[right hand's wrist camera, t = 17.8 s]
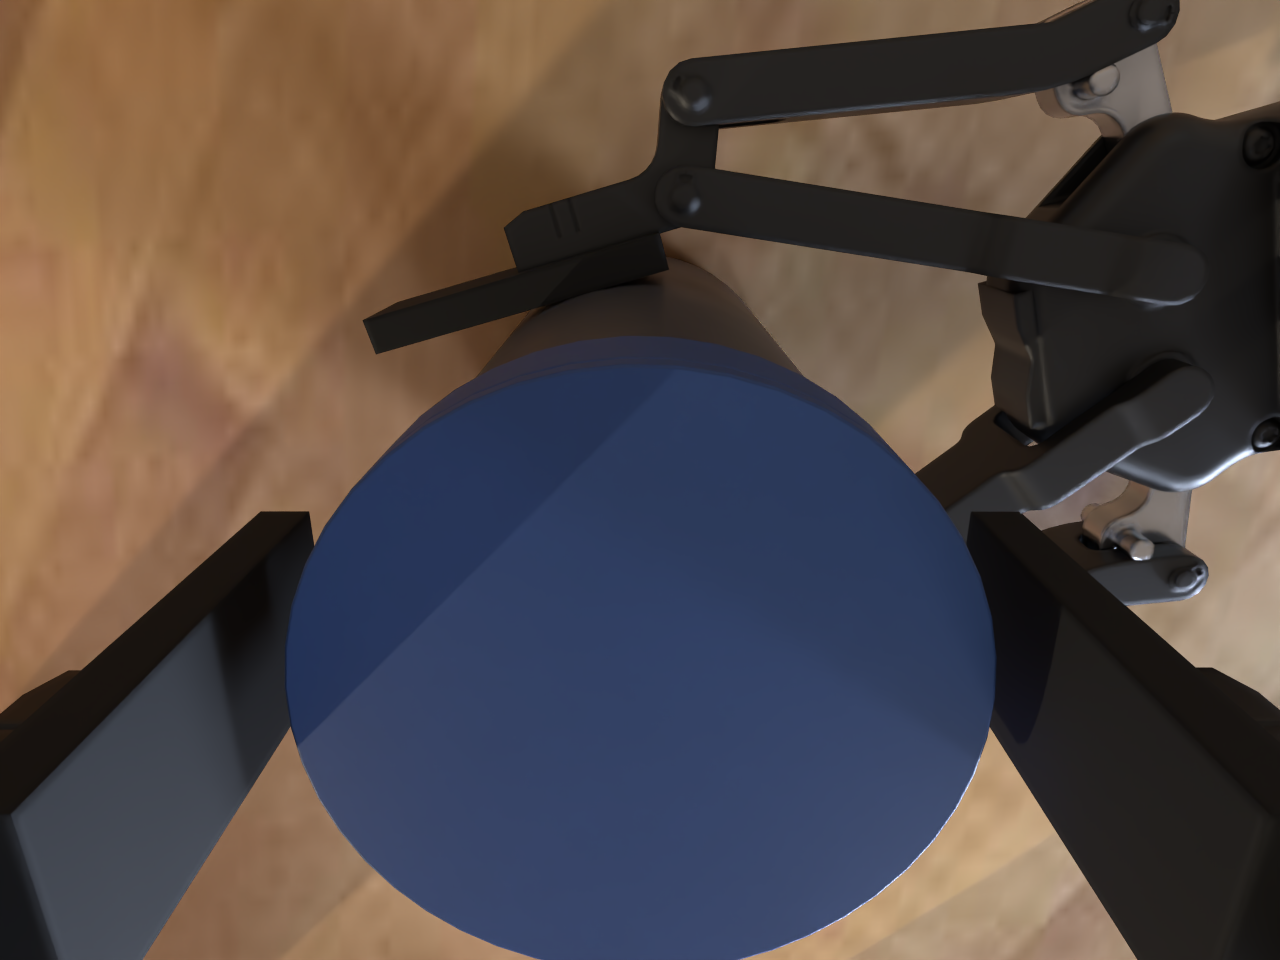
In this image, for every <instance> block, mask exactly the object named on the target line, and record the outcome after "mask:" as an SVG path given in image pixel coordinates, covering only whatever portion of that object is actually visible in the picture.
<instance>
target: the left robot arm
mask: <svg viewBox="0 0 1280 960" xmlns="http://www.w3.org/2000/svg"><path fill="white" fill-rule="evenodd" d="M1179 11H1180V3H1179V0H1085V1H1083V2H1080V3H1077V4H1075V5H1073V6H1071V7H1069V8H1067V9H1065V10H1063V11H1061V12H1059V13H1057V14H1055V15H1053V16H1051V17H1049V18H1047V19H1045V20H1043V21H1041V22H1039V23H1037V24H1027V25H1017V26H1007V27H997V28H988V29H978V30H968V31H958V32H948V33H938V34H928V35H918V36H909V37H899V38H889V39H879V40H869V41H859V42H849V43H839V44H830V45H820V46H810V47H800V48H790V49H780V50H770V51H760V52H751V53H741V54H731V55H721V56H711V57H701V58H691V59H688V60H685V61H682V62H679V63H678V64H677V65H676V66H675V67H674V68H673V69H671V70H670V72H669V74H668V76H667V78H666V80H665V82H664V85H663V89H662V92H661V98H660V111H659V124H658V137H657V147H656V152H655V156H654V158H653V160H652V162H651V164H650V165H649V166H648V168H647V169H646V170H645V171H644V172H643V173H641V174H640V175H639V176H637V177H634V178H632V179H630V180H626V181H623V182H620V183H616V184H613V185H610V186H606V187H603V188H600V189H596V190H593V191H590V192H586V193H583V194H580V195H577V196H573V197H570V198H567V199H563V200H560V201H557V202H553V203H550V204H547V205H543V206H540V207H537V208H533V209H530V210H527V211H523V212H522V213H521V214H520V215H519V216H517V217H516V218H515V219H514V220H513V221H511V222H510V223H509V224H508V225H507V226H506V227H504V230H505V233H506V236H507V239H508V242H509V245H510V248H511V252H512V255H513V258H514V261H515V264H516V268H512V269H509V270H505V271H502V272H499V273H495V274H492V275H488V276H485V277H482V278H478V279H475V280H471V281H468V282H465V283H461V284H458V285H454V286H451V287H448V288H444V289H441V290H437V291H434V292H431V293H427V294H424V295H420V296H417V297H414V298H410V299H407V300H403V301H400V302H397V303H395V304H393V305H391V306H389V307H388V308H386V309H384V310H382V311H380V312H378V313H376V314H374V315H372V316H370V317H368V318H366V319H365V320H363V323H364V325H365V328H366V330H367V333H368V335H369V338H370V340H371V343H372V345H373V348H374V350H375V353H376V354H379V353H382V352H386V351H389V350H393V349H396V348H400V347H403V346H407V345H410V344H414V343H417V342H421V341H424V340H428V339H431V338H434V337H438V336H441V335H445V334H448V333H452V332H455V331H459V330H462V329H466V328H469V327H473V326H476V325H480V324H483V323H486V322H490V321H493V320H497V319H500V318H504V317H507V316H511V315H514V314H518V313H521V312H525V311H528V310H531V309H535V308H538V307H542V306H545V305H549V304H552V303H556V302H559V301H563V300H566V299H570V298H573V297H577V296H580V295H583V294H587V293H590V292H593V291H597V290H601V289H604V288H608V287H611V286H615V285H618V284H622V283H625V282H628V281H632V280H635V279H639V278H642V277H646V276H649V275H653V274H656V273H660V272H663V271H667V270H669V267H668V263H667V259H666V256H665V252H664V248H663V244H662V241H661V237H660V233H663V232H666V231H670V230H673V229H677V228H680V227H684V228H690V229H697V230H703V231H709V232H716V233H722V234H729V235H735V236H741V237H748V238H754V239H760V240H767V241H773V242H780V243H786V244H792V245H799V246H805V247H812V248H818V249H824V250H831V251H837V252H843V253H850V254H856V255H863V256H869V257H875V258H882V259H888V260H894V261H901V262H907V263H914V264H920V265H926V266H933V267H939V268H946V269H952V270H958V271H965V272H970V273H976V274H980V275H985V276H987V281H985V282H981V283H978V288H979V295H980V302H981V309H982V315H983V317H984V320H985V322H986V324H987V326H988V328H989V331H990V333H991V335H992V337H993V339H994V342H995V351H994V358H993V366H992V373H991V380H992V388H993V395H994V402H995V405H994V406H993V407H992V408H990V409H989V410H987V411H986V412H985V413H983V414H982V415H981V416H979V417H978V418H976V419H975V420H974V421H972V422H971V423H970V424H969V425H968V426H967V427H966V428H965V429H964V431H963V433H962V437H961V439H960V440H959V442H958V443H957V444H955V445H954V446H953V447H951V448H950V449H949V450H947V451H946V452H945V453H943V454H942V455H940V456H939V457H938V458H936V459H935V460H933V461H932V462H931V463H929V464H928V465H927V466H925V467H924V468H922V469H921V470H920V471H918V472H917V473H916V474H915V475H916V476H917V477H918V478H919V479H920V480H921V482H922V483H923V484H924V485H925V486H926V487H927V488H928V489H929V490H930V492H931V493H932V494H933V495H934V496H935V497H936V498H937V499H938V501H939V502H940V504H941V505H942V507H943V508H944V510H945V511H946V513H947V514H948V516H949V517H950V519H951V520H952V522H953V523H954V525H955V526H956V528H957V530H958V531H959V533H960V534H961V536H962V537H963V539H964V541H965V544H966V541H967V535H968V528H969V521H970V514H971V512H1020V513H1024V512H1026V511H1029V510H1043V509H1047V508H1050V507H1052V506H1054V505H1056V504H1058V503H1059V502H1061V501H1062V500H1064V499H1065V498H1067V497H1068V496H1070V495H1071V494H1073V493H1074V492H1075V491H1077V490H1078V489H1080V488H1081V487H1083V486H1084V485H1086V484H1087V483H1089V482H1090V481H1092V480H1093V479H1094V478H1096V477H1097V476H1099V475H1100V474H1102V473H1103V472H1105V471H1106V472H1109V473H1112V474H1114V475H1117V476H1120V477H1122V478H1125V479H1128V480H1129V483H1128V486H1127V487H1126V489H1125V491H1124V492H1123V493H1122V494H1121V495H1120V496H1119V497H1118V498H1116V499H1115V500H1113V501H1110V502H1108V503H1105V504H1102V505H1099V504H1090V505H1088V506H1086V507H1085V508H1084V509H1083V510H1082V513H1081V519H1082V521H1081V522H1074V523H1068V524H1063V525H1059V526H1055V527H1052V528H1048V529H1045V530H1042V532H1043V533H1044V534H1045V535H1046V536H1047V537H1049V538H1050V539H1051V540H1052V541H1053V542H1054V543H1055V544H1057V545H1058V546H1059V547H1060V548H1061V549H1062V550H1063V551H1064V552H1066V553H1067V554H1068V555H1069V556H1070V557H1071V558H1072V559H1073V560H1075V561H1076V562H1077V563H1078V564H1079V565H1080V566H1081V567H1082V568H1084V569H1085V570H1086V571H1087V572H1088V573H1089V574H1090V575H1092V576H1093V577H1094V578H1095V579H1096V580H1097V581H1098V582H1099V583H1101V584H1102V585H1103V586H1104V587H1105V588H1106V589H1107V590H1108V591H1110V592H1111V593H1112V594H1113V595H1114V596H1115V597H1116V598H1117V599H1119V600H1120V601H1121V602H1122V603H1123V604H1124V605H1125V606H1129V605H1139V604H1149V603H1160V602H1170V601H1180V600H1184V599H1188V598H1191V597H1192V596H1194V595H1195V594H1197V593H1199V592H1200V590H1201V589H1202V588H1203V587H1204V586H1205V584H1206V581H1207V579H1208V567H1207V565H1206V564H1205V563H1204V561H1203V560H1202V559H1200V558H1199V557H1197V556H1196V555H1194V554H1193V553H1191V552H1190V551H1189V550H1187V549H1186V548H1185V541H1186V533H1187V525H1188V517H1189V509H1190V501H1191V493H1192V489H1195V488H1198V487H1200V486H1202V485H1205V484H1206V483H1208V482H1210V481H1211V480H1212V479H1214V478H1215V477H1216V476H1218V475H1219V474H1220V473H1221V472H1223V471H1224V470H1225V469H1227V468H1228V467H1230V466H1231V465H1233V464H1235V463H1236V462H1238V461H1240V460H1242V459H1244V458H1246V457H1248V456H1251V455H1254V454H1257V453H1262V452H1268V451H1276V450H1280V101H1279V102H1276V103H1273V104H1269V105H1266V106H1262V107H1259V108H1255V109H1252V110H1248V111H1245V112H1241V113H1238V114H1234V115H1231V116H1227V117H1224V118H1221V119H1217V120H1209V119H1203V118H1200V117H1196V116H1193V115H1190V114H1185V113H1172V109H1171V104H1170V100H1169V96H1168V91H1167V87H1166V82H1165V78H1164V74H1163V69H1162V65H1161V61H1160V56H1159V52H1158V48H1157V42H1159V41H1160V40H1161V39H1163V38H1164V37H1166V36H1167V34H1168V33H1169V32H1170V30H1171V29H1172V28H1173V26H1174V25H1175V23H1176V20H1177V17H1178V14H1179ZM1034 92H1035V94H1036V98H1037V101H1038V104H1039V106H1040V108H1041V109H1042V110H1043V111H1044V112H1045V113H1046V114H1047V115H1049V116H1051V117H1053V118H1068V117H1075V116H1084V117H1087V118H1089V119H1091V120H1093V121H1094V122H1095V123H1096V124H1097V125H1098V127H1099V129H1100V131H1101V134H1102V135H1101V136H1100V137H1099V138H1098V139H1097V140H1096V141H1095V142H1094V143H1093V144H1092V146H1091V147H1090V148H1089V149H1088V150H1087V151H1086V152H1085V153H1084V154H1083V155H1082V157H1081V158H1080V159H1079V160H1078V161H1077V162H1076V163H1075V164H1074V165H1073V167H1072V168H1071V169H1070V170H1069V171H1068V172H1067V173H1066V174H1065V175H1064V176H1063V178H1062V179H1061V180H1060V181H1059V182H1058V183H1057V184H1056V185H1055V186H1054V188H1053V189H1052V190H1051V191H1050V192H1049V193H1048V194H1047V195H1046V196H1045V197H1044V199H1043V200H1042V201H1041V202H1040V203H1039V204H1038V205H1037V206H1036V207H1035V209H1034V210H1033V211H1032V212H1031V213H1030V214H1029V215H1028V216H1027V217H1026V218H1020V217H1014V216H1007V215H1000V214H993V213H986V212H980V211H973V210H967V209H961V208H955V207H948V206H942V205H936V204H930V203H924V202H917V201H911V200H905V199H899V198H892V197H886V196H880V195H874V194H868V193H861V192H855V191H849V190H843V189H836V188H830V187H824V186H818V185H811V184H805V183H799V182H793V181H787V180H780V179H774V178H768V177H762V176H755V175H749V174H743V173H737V172H731V171H724V170H718V169H715V161H716V151H717V140H718V130H719V129H725V128H735V127H746V126H756V125H766V124H776V123H786V122H796V121H806V120H817V119H827V118H837V117H847V116H857V115H867V114H878V113H888V112H898V111H908V110H918V109H928V108H938V107H949V106H959V105H969V104H978V103H984V102H990V101H996V100H1001V99H1006V98H1010V97H1015V96H1020V95H1025V94H1029V93H1034ZM1033 441H1035V442H1036V443H1038V444H1037V445H1034V446H1027V445H1029V444H1030V443H1031V442H1033Z"/></svg>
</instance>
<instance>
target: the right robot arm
mask: <svg viewBox="0 0 1280 960" xmlns="http://www.w3.org/2000/svg"><path fill="white" fill-rule="evenodd" d="M966 546H967V548H968V550H969V552H970V555H971V557H972V559H973V561H974V563H975V565H976V568H977V570H978V572H979V574H980V576H981V580H982V583H983V587H984V591H985V594H986V598H987V601H988V605H989V609H990V612H991V616H992V623H993V631H994V640H995V649H996V657H997V659H996V683H995V701H994V706H993V711H992V716H991V721H990V728H991V729H992V731H993V733H994V734H995V736H996V737H997V739H998V741H999V742H1000V744H1001V745H1002V747H1003V748H1004V750H1005V752H1006V753H1007V755H1008V756H1009V758H1010V759H1011V761H1012V763H1013V764H1014V766H1015V767H1016V769H1017V770H1018V772H1019V774H1020V775H1021V777H1022V778H1023V780H1024V781H1025V783H1026V785H1027V786H1028V788H1029V789H1030V791H1031V793H1032V794H1033V796H1034V797H1035V799H1036V800H1037V802H1038V804H1039V805H1040V807H1041V808H1042V810H1043V811H1044V813H1045V815H1046V816H1047V818H1048V819H1049V821H1050V822H1051V824H1052V826H1053V827H1054V829H1055V830H1056V832H1057V833H1058V835H1059V837H1060V838H1061V840H1062V841H1063V843H1064V845H1065V846H1066V848H1067V849H1068V851H1069V852H1070V854H1071V856H1072V857H1073V859H1074V860H1075V862H1076V863H1077V865H1078V867H1079V868H1080V870H1081V871H1082V873H1083V874H1084V876H1085V878H1086V879H1087V881H1088V882H1089V884H1090V886H1091V887H1092V889H1093V890H1094V892H1095V893H1096V895H1097V897H1098V898H1099V900H1100V901H1101V903H1102V904H1103V906H1104V908H1105V909H1106V911H1107V912H1108V914H1109V915H1110V917H1111V919H1112V920H1113V922H1114V923H1115V925H1116V926H1117V928H1118V930H1119V931H1120V933H1121V934H1122V936H1123V938H1124V939H1125V941H1126V942H1127V944H1128V945H1129V947H1130V949H1131V950H1132V952H1133V953H1134V955H1135V956H1136V958H1137V960H1280V710H1279V709H1278V708H1277V707H1275V706H1274V705H1273V704H1272V703H1271V702H1269V701H1268V700H1267V699H1266V698H1265V697H1264V696H1262V695H1261V694H1260V693H1259V692H1257V691H1255V690H1253V689H1251V688H1250V687H1248V686H1246V685H1244V684H1242V683H1240V682H1238V681H1236V680H1235V679H1233V678H1231V677H1229V676H1227V675H1225V674H1223V673H1221V672H1220V671H1218V670H1216V669H1214V668H1195V667H1194V666H1193V665H1192V664H1191V663H1190V662H1189V661H1187V660H1186V659H1185V658H1184V657H1183V656H1182V655H1181V654H1180V653H1178V652H1177V651H1176V650H1175V649H1174V648H1173V647H1172V646H1171V645H1169V644H1168V643H1167V642H1166V641H1165V640H1164V639H1163V638H1162V637H1160V636H1159V635H1158V634H1157V633H1156V632H1155V631H1154V630H1152V629H1151V628H1150V627H1149V626H1148V625H1147V624H1146V623H1145V622H1143V621H1142V620H1141V619H1140V618H1139V617H1138V616H1137V615H1136V614H1134V613H1133V612H1132V611H1131V610H1130V609H1129V608H1128V607H1127V606H1125V605H1124V604H1123V603H1122V602H1121V601H1120V600H1119V599H1117V598H1116V597H1115V596H1114V595H1113V594H1112V593H1111V592H1110V591H1108V590H1107V589H1106V588H1105V587H1104V586H1103V585H1102V584H1101V583H1099V582H1098V581H1097V580H1096V579H1095V578H1094V577H1093V576H1092V575H1090V574H1089V573H1088V572H1087V571H1086V570H1085V569H1084V568H1082V567H1081V566H1080V565H1079V564H1078V563H1077V562H1076V561H1075V560H1073V559H1072V558H1071V557H1070V556H1069V555H1068V554H1067V553H1066V552H1064V551H1063V550H1062V549H1061V548H1060V547H1059V546H1058V545H1057V544H1055V543H1054V542H1053V541H1052V540H1051V539H1050V538H1049V537H1047V536H1046V535H1045V534H1044V533H1043V532H1042V531H1041V530H1040V529H1038V528H1037V527H1036V526H1035V525H1034V524H1033V523H1032V522H1031V521H1029V520H1028V519H1027V518H1026V517H1025V516H1024V515H1023V514H1022V513H1020V512H971V514H970V521H969V528H968V535H967V541H966ZM313 548H314V541H313V535H312V528H311V521H310V514H309V512H260V513H258V514H257V515H256V516H255V517H254V518H253V519H252V520H251V521H249V522H248V523H247V524H246V525H245V526H244V527H243V528H242V529H240V530H239V531H238V532H237V533H236V534H235V535H234V536H233V537H231V538H230V539H229V540H228V541H227V542H226V543H225V544H223V545H222V546H221V547H220V548H219V549H218V550H217V551H216V552H214V553H213V554H212V555H211V556H210V557H209V558H208V559H207V560H205V561H204V562H203V563H202V564H201V565H200V566H199V567H198V568H196V569H195V570H194V571H193V572H192V573H191V574H190V575H188V576H187V577H186V578H185V579H184V580H183V581H182V582H181V583H179V584H178V585H177V586H176V587H175V588H174V589H173V590H172V591H170V592H169V593H168V594H167V595H166V596H165V597H164V598H163V599H161V600H160V601H159V602H158V603H157V604H156V605H155V606H153V607H152V608H151V609H150V610H149V611H148V612H147V613H146V614H144V615H143V616H142V617H141V618H140V619H139V620H138V621H137V622H135V623H134V624H133V625H132V626H131V627H130V628H129V629H128V630H126V631H125V632H124V633H123V634H122V635H121V636H120V637H118V638H117V639H116V640H115V641H114V642H113V643H112V644H111V645H109V646H108V647H107V648H106V649H105V650H104V651H103V652H102V653H100V654H99V655H98V656H97V657H96V658H95V659H94V660H93V661H91V662H90V663H89V664H88V665H87V666H86V667H85V668H83V669H82V670H69V671H67V672H65V673H63V674H61V675H59V676H57V677H56V678H54V679H52V680H50V681H48V682H46V683H44V684H42V685H41V686H39V687H37V688H35V689H33V690H31V691H29V692H27V693H26V694H24V695H22V696H21V697H20V698H19V699H17V700H16V701H15V702H14V703H13V704H11V705H10V706H9V707H8V708H7V709H6V710H4V711H3V712H2V713H1V714H0V960H143V958H144V956H145V955H146V953H147V952H148V950H149V949H150V947H151V945H152V944H153V942H154V941H155V939H156V938H157V936H158V934H159V933H160V931H161V930H162V928H163V926H164V925H165V923H166V922H167V920H168V919H169V917H170V915H171V914H172V912H173V911H174V909H175V908H176V906H177V904H178V903H179V901H180V900H181V898H182V897H183V895H184V893H185V892H186V890H187V889H188V887H189V886H190V884H191V882H192V881H193V879H194V878H195V876H196V874H197V873H198V871H199V870H200V868H201V867H202V865H203V863H204V862H205V860H206V859H207V857H208V856H209V854H210V852H211V851H212V849H213V848H214V846H215V845H216V843H217V841H218V840H219V838H220V837H221V835H222V834H223V832H224V830H225V829H226V827H227V826H228V824H229V822H230V821H231V819H232V818H233V816H234V815H235V813H236V811H237V810H238V808H239V807H240V805H241V804H242V802H243V800H244V799H245V797H246V796H247V794H248V793H249V791H250V789H251V788H252V786H253V785H254V783H255V781H256V780H257V778H258V777H259V775H260V774H261V772H262V770H263V769H264V767H265V766H266V764H267V763H268V761H269V759H270V758H271V756H272V755H273V753H274V752H275V750H276V748H277V747H278V745H279V744H280V742H281V741H282V739H283V737H284V736H285V734H286V733H287V731H288V729H289V728H290V726H291V725H290V718H289V712H288V705H287V698H286V692H285V642H286V636H287V630H288V624H289V618H290V612H291V606H292V602H293V599H294V596H295V593H296V590H297V587H298V584H299V581H300V578H301V575H302V572H303V569H304V566H305V563H306V562H307V560H308V558H309V556H310V554H311V552H312V550H313Z"/></svg>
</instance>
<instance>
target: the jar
mask: <svg viewBox="0 0 1280 960" xmlns="http://www.w3.org/2000/svg"><path fill="white" fill-rule="evenodd" d="M666 259H667V263H668V267H669V270H667V271H663V272H660V273H656V274H653V275H649V276H646V277H642V278H639V279H635V280H632V281H628V282H625V283H622V284H618V285H615V286H611V287H608V288H604V289H601V290H597V291H593V292H590V293H587V294H583V295H580V296H577V297H573V298H570V299H566V300H563V301H559V302H556V303H552V304H549V305H545V306H542V307H538V308H535V309H531V311H530V312H529V313H528V314H527V316H526V317H525V318H524V319H523V320H522V322H521V323H520V324H519V325H518V327H517V328H516V329H515V330H514V332H513V333H512V334H511V335H510V336H509V338H508V339H507V340H506V341H505V343H504V344H503V345H502V346H501V347H500V349H499V350H498V351H497V352H496V354H495V355H494V356H493V357H492V359H491V360H490V361H489V362H488V363H487V365H486V366H485V367H484V368H483V370H482V371H481V372H480V373H479V375H478V376H480V375H482V374H484V373H486V372H487V371H489V370H491V369H493V368H495V367H498V366H500V365H503V364H505V363H508V362H510V361H513V360H515V359H518V358H520V357H523V356H525V355H528V354H531V353H533V352H536V351H540V350H544V349H548V348H552V347H556V346H560V345H565V344H569V343H573V342H577V341H583V340H592V339H601V338H610V337H619V336H655V337H675V338H681V339H688V340H695V341H701V342H708V343H714V344H718V345H722V346H725V347H729V348H732V349H736V350H739V351H742V352H746V353H749V354H753V355H756V356H759V357H762V358H764V359H766V360H768V361H771V362H773V363H775V364H778V365H780V366H782V367H784V368H787V369H789V370H791V371H793V372H796V373H798V374H800V375H802V374H801V373H800V371H799V370H798V369H797V368H796V366H795V365H794V364H793V363H792V362H791V360H790V359H789V358H788V357H787V355H786V354H785V353H784V352H783V350H782V349H781V348H780V347H779V346H778V344H777V343H776V342H775V341H774V339H773V338H772V337H771V336H770V334H769V333H768V332H767V331H766V330H765V328H764V327H763V326H762V325H761V323H760V322H759V321H758V320H757V319H756V317H755V316H754V315H753V314H752V312H751V311H750V310H749V309H748V307H747V306H746V305H745V304H744V303H743V301H742V300H741V299H740V298H739V297H738V296H737V295H736V294H735V293H734V292H733V291H732V290H731V289H730V288H729V287H728V286H727V285H726V284H724V283H723V282H722V281H720V280H719V279H717V278H716V277H715V276H713V275H712V274H710V273H708V272H706V271H705V270H703V269H701V268H699V267H697V266H695V265H692V264H690V263H687V262H684V261H682V260H679V259H674V258H670V257H666ZM478 376H477V377H478ZM802 376H803V375H802ZM477 377H476V378H477ZM803 377H804V376H803Z"/></svg>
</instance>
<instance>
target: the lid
mask: <svg viewBox="0 0 1280 960" xmlns="http://www.w3.org/2000/svg"><path fill="white" fill-rule="evenodd" d="M996 659H997V657H996V649H995V640H994V631H993V623H992V616H991V612H990V609H989V605H988V601H987V598H986V594H985V591H984V587H983V583H982V580H981V576H980V574H979V572H978V570H977V568H976V565H975V563H974V561H973V559H972V557H971V555H970V552H969V550H968V548H967V546H966V544H965V541H964V539H963V537H962V536H961V534H960V533H959V531H958V530H957V528H956V526H955V525H954V523H953V522H952V520H951V519H950V517H949V516H948V514H947V513H946V511H945V510H944V508H943V507H942V505H941V504H940V502H939V501H938V499H937V498H936V497H935V496H934V495H933V494H932V493H931V492H930V490H929V489H928V488H927V487H926V486H925V485H924V484H923V483H922V482H921V480H920V479H919V478H918V477H917V476H916V475H915V474H914V473H913V472H912V470H911V469H910V468H909V467H908V466H907V465H906V464H905V463H904V462H903V461H902V459H901V458H900V457H899V456H898V455H897V454H896V453H895V452H894V451H893V450H892V449H891V448H890V446H889V445H888V444H887V443H886V442H885V441H884V440H883V439H882V438H881V437H880V436H879V434H878V433H877V432H876V431H875V430H874V429H873V428H872V427H871V426H870V425H869V424H868V423H867V422H866V421H865V420H863V419H862V418H861V417H860V416H859V415H857V414H856V413H855V412H854V411H853V410H851V409H850V408H849V407H848V406H847V405H845V404H844V403H843V402H842V401H841V400H839V399H838V398H837V397H836V396H834V395H832V394H831V393H829V392H827V391H826V390H824V389H823V388H821V387H819V386H818V385H816V384H815V383H813V382H811V381H810V380H808V379H806V378H805V377H803V376H802V375H800V374H798V373H796V372H793V371H791V370H789V369H787V368H784V367H782V366H780V365H778V364H775V363H773V362H771V361H768V360H766V359H764V358H762V357H759V356H756V355H753V354H749V353H746V352H742V351H739V350H736V349H732V348H729V347H725V346H722V345H718V344H714V343H708V342H701V341H695V340H688V339H681V338H675V337H655V336H619V337H610V338H601V339H592V340H583V341H577V342H573V343H569V344H565V345H560V346H556V347H552V348H548V349H544V350H540V351H536V352H533V353H531V354H528V355H525V356H523V357H520V358H518V359H515V360H513V361H510V362H508V363H505V364H503V365H500V366H498V367H495V368H493V369H491V370H489V371H487V372H486V373H484V374H482V375H480V376H478V377H477V378H475V379H473V380H471V381H470V382H468V383H466V384H464V385H462V386H461V387H459V388H457V389H455V390H454V391H453V392H451V393H450V394H449V395H447V396H446V397H445V398H443V399H442V400H441V401H440V402H438V403H437V404H436V405H434V406H433V407H432V408H430V409H429V410H428V411H426V412H425V413H424V414H422V415H421V416H420V417H419V418H418V419H417V420H416V421H415V422H414V423H413V424H412V425H411V426H410V427H409V428H408V429H407V430H406V431H405V432H404V433H403V434H402V435H401V437H400V438H399V439H398V440H397V441H396V442H395V443H394V444H393V445H392V446H391V447H390V448H389V449H388V450H387V451H386V452H385V453H384V454H383V455H382V457H381V458H380V459H379V460H378V461H377V462H376V463H375V464H374V465H373V466H372V467H371V469H370V470H369V471H368V472H367V473H366V474H365V475H364V476H363V477H362V478H361V479H360V480H359V482H358V483H357V484H356V485H355V486H354V487H353V488H352V489H351V491H350V492H349V493H348V495H347V496H346V497H345V499H344V500H343V502H342V503H341V504H340V506H339V507H338V508H337V510H336V511H335V513H334V514H333V515H332V517H331V518H330V519H329V521H328V522H327V524H326V525H325V527H324V528H323V530H322V532H321V534H320V536H319V538H318V540H317V542H316V544H315V546H314V548H313V550H312V552H311V554H310V556H309V558H308V560H307V562H306V563H305V566H304V569H303V572H302V575H301V578H300V581H299V584H298V587H297V590H296V593H295V596H294V599H293V602H292V606H291V612H290V618H289V624H288V630H287V636H286V642H285V692H286V698H287V705H288V712H289V718H290V725H291V729H292V732H293V735H294V739H295V742H296V745H297V748H298V752H299V755H300V758H301V761H302V764H303V766H304V769H305V771H306V773H307V775H308V777H309V779H310V781H311V783H312V786H313V788H314V790H315V792H316V794H317V796H318V798H319V800H320V801H321V803H322V805H323V806H324V808H325V809H326V811H327V812H328V814H329V815H330V817H331V818H332V820H333V821H334V823H335V825H336V826H337V828H338V829H339V831H340V832H341V833H342V834H343V836H344V837H345V838H346V839H347V840H348V841H349V843H350V844H351V845H352V846H353V847H354V848H355V850H356V851H357V852H358V853H359V854H360V856H361V857H362V858H363V859H364V860H365V861H366V862H367V863H368V864H369V865H370V866H371V867H372V868H373V869H374V870H376V871H377V872H378V873H379V874H380V875H381V876H382V877H383V878H384V879H385V880H386V881H387V882H389V883H390V884H391V885H392V886H393V887H394V888H395V889H397V890H398V891H400V892H401V893H402V894H404V895H405V896H406V897H408V898H409V899H411V900H412V901H413V902H415V903H416V904H417V905H419V906H420V907H422V908H423V909H424V910H426V911H427V912H429V913H431V914H433V915H435V916H436V917H438V918H440V919H442V920H443V921H445V922H447V923H449V924H450V925H452V926H454V927H456V928H457V929H459V930H461V931H463V932H466V933H468V934H470V935H473V936H475V937H477V938H479V939H482V940H484V941H486V942H489V943H491V944H493V945H496V946H498V947H501V948H505V949H508V950H511V951H514V952H517V953H520V954H523V955H527V956H530V957H533V958H536V959H541V960H740V959H743V958H747V957H750V956H754V955H757V954H761V953H764V952H768V951H771V950H774V949H777V948H779V947H782V946H784V945H787V944H789V943H792V942H794V941H797V940H799V939H802V938H804V937H807V936H809V935H811V934H813V933H815V932H817V931H819V930H821V929H823V928H825V927H827V926H828V925H830V924H832V923H834V922H836V921H838V920H840V919H842V918H844V917H845V916H847V915H848V914H850V913H851V912H853V911H854V910H856V909H857V908H859V907H860V906H862V905H863V904H865V903H866V902H868V901H869V900H871V899H872V898H874V897H875V896H877V895H878V894H879V893H880V892H881V891H883V890H884V889H885V888H886V887H887V886H888V885H890V884H891V883H892V882H893V881H894V880H895V879H897V878H898V877H899V876H900V875H901V874H902V873H904V872H905V871H906V870H907V869H908V868H909V867H910V866H911V865H912V864H913V863H914V862H915V860H916V859H917V858H918V857H919V856H920V855H921V854H922V853H923V852H924V851H925V850H926V848H927V847H928V846H929V845H930V844H931V843H932V842H933V841H934V839H935V838H936V837H937V835H938V834H939V832H940V831H941V830H942V828H943V827H944V825H945V824H946V823H947V821H948V820H949V818H950V817H951V815H952V814H953V813H954V811H955V810H956V808H957V806H958V804H959V803H960V801H961V799H962V797H963V795H964V793H965V791H966V789H967V787H968V785H969V783H970V782H971V780H972V778H973V776H974V774H975V771H976V768H977V765H978V762H979V759H980V757H981V754H982V751H983V748H984V745H985V743H986V740H987V736H988V731H989V726H990V721H991V716H992V711H993V706H994V701H995V683H996Z"/></svg>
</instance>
